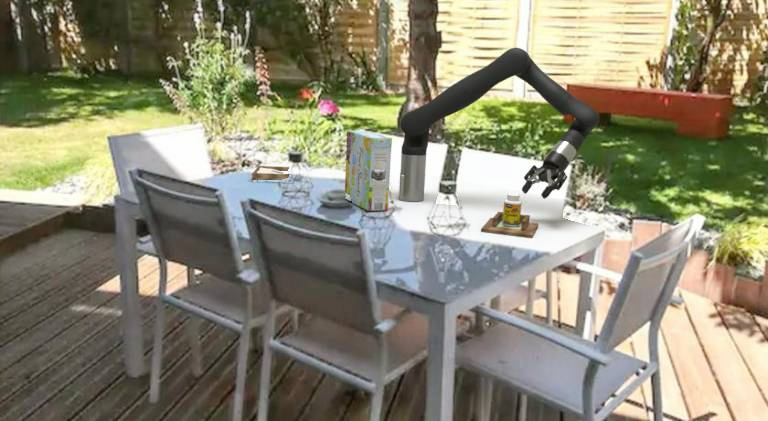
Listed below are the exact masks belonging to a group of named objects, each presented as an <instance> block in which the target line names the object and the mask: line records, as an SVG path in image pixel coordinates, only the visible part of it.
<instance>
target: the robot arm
mask: <svg viewBox="0 0 768 421" xmlns="http://www.w3.org/2000/svg"><path fill="white" fill-rule="evenodd" d="M514 76H515V77H517V78H519V79H520V80H522V81H524V82H525V83H527V84H528V85H529V86H530V87H531V88H533V89H534V90H535V91H536V92H537V93H538V94H539V95H540V96H541V97H542V98H543V99H544V100H545V101H546V102H547V103H548V104H549V105H550V106H551V107H552V108H554V110H556V111H557V112H558V113H559V114H560V115H562V116H568V115H570V116H571V117H572V118H574V120H573V122H572V123H571V124H570V126H569V127H568V129H567V130H566V131H565V132H564V133H563V135H562V136H561V138H560V139H559V140H558V142H557V143H556V144H555V145H554V146H553V147H552V149H551V150H550V151H549V152H548V154H547V156H546V157H545V158H544V160H543V161H542V162H543V163H542V165H541V166H540V167H537V166H536V165H533V166H531V167H530V169H529V170H528V171H527V172H526V174H525V175H524V177H523V179H524V180H525V183H524V185H523V186H522V188H521V191H522V192H523V194H526V195H527V193H528V192H529V191H530V189H531V188H532V187H533V185H535V184H539V183H542V182H543V183H547V185H546V187H545V188H544V190H543V191H542V192H541V195H540V196H541V197H542V199H544V200H546V199H547V198H548V197H549V196H550V195H551V193H552V192H553V191H555V190H556V191H559V190H560V189H561V188H562V187H563V184H565V182H566V180H567V179H568V175H567V174H566V172H565V171H566V169H567V168H568V167H569V165H570V163H571V162H572V161H573V160H574V158H575V156H576V154H577V153H578V151H579V150H580V149H581V148H582V146H583V144H584V141H585V140H586V139H587V137H588V136H589V135H590V134H591V133H592V132H593V130H595V128H596V126H597V125H598V124H599V122H600V115H599V113H598V111H597V110H596V109H595V108H594V107H593V106H591V105H590V104H587V103H586V102H583V101H582V100H580V99H578V98H576V97H574V96H573V95H572V94H571V93H570V92H569V91H568V90H567V89H565V88H564V87H563V86H561V85H560V84H559V83H558V82H557V81H555V80H553V79H552V78H551V77H550V76H549V75H547V74H546V73H545V72H544V71H543V70H542V69H541V68H540V67H539V66H538V65H537V64H536V62H534V60H533V59H532V57H531V56H530V54H529V53H528V52H527V51H525V50H524V49H523V48H519V47H512V48H509V49H507V50H505V51H504V52H503V53H502V54H501V55H500V56H498V57H497V58H495V60H492V61H491V62H490V63H489V64H487V65H486V66H484V67H482V68H481V69H478V70H476V71H473V73H471V74H469V75H467V76H465V77H463V78H462V79H460V80H458V81H456V82H455V83H454V84H452V85H451V86H449V87H447V88H446V89H444V90H443V91H442V92H440V93H439V94H437V96H435V97H434V98H433V99H431V100H430V101H428V102H427V103H425V104H422V105H421V106H419V107H417V108H415V109H413V110H411V111H408V112H406V113H405V114H404V115H403V116H402V118H401V120H400V129H401V132H403V134H404V137H403V143H402V144H401V145H402V146H401V154H400V172H399V173H400V174H399V188H398V189H399V192H398V199H399V201H405V202H422V201H424V200H423V199H425V183H426V182H425V181H426V180H425V179H426V165H427V164H426V163H427V149H428V145H429V139H430V138H429V136H430V127H431V126H432V125H434V124H435V123H436V122H438V121H440V120H442V119H443V118H446V117H449V116H450V115H453V114H456V113H458V112H461V110H463V109H466V108H468V107H469V106H471V105H472V104H474V103H475V102H477V101H479V99H481V98H482V97H483V96H485V95H486V94H487V93H488V92H489V91H490V90H491V89H492V88H494V87H495V86H497V85H499V84H500V83H502V82H504V81H506V80H508V79H510V78H512V77H514ZM421 200H422V201H421Z"/></svg>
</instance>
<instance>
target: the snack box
mask: <svg viewBox="0 0 768 421" xmlns="http://www.w3.org/2000/svg"><path fill="white" fill-rule="evenodd" d="M392 143H393V138H392V137H390V136H386V135H383V134H380V133H375V132H373V131H368V130H347V131H346V150H345V151H346V154H345V156H346V157H345V178H344V179H345V180H344V181H345V182H344V193H345V192H346V193H347V194H348V195H350V197H351V201H352V203H351V204H353V205H356V206H358V207H359V208H362V209H363V210H365V211H368V212H382V211H388V210H389V196H390V195H389V193H390V192H389V191H390V178H391V176H390V175H391V174H390V173H391V161H392V160H391V159H392V155H391V154H392ZM374 169H380V170H386V181H375V180H373V179H372V178H371V171H372V170H374Z"/></svg>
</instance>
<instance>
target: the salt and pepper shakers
mask: <svg viewBox="0 0 768 421" xmlns="http://www.w3.org/2000/svg"><path fill="white" fill-rule="evenodd" d="M257 173H271V174H283V172H281V171H278V170H274V169H267V168H261V167H260V169H259V171H257Z"/></svg>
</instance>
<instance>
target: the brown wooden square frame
mask: <svg viewBox="0 0 768 421" xmlns="http://www.w3.org/2000/svg"><path fill="white" fill-rule="evenodd" d="M530 216H531V215H529V214H520V224H519V226H517V227H509V226H505V225H503V224H502V220H503V211H497V213H495V215H493V217H490V218H489V219H488V220H487V222H485V224H484V225H483V226H482V228H481V229H480V233H486V234H487V233H489V234H497V235H504V236H513V237H521V238H526V239H527V238H529V239H532V238H533V237H534V235H535V234H536V231H537V229H538V228H539V225H540V224H539V222H537V223H536V222H531V221H530V219H531V218H530Z"/></svg>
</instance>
